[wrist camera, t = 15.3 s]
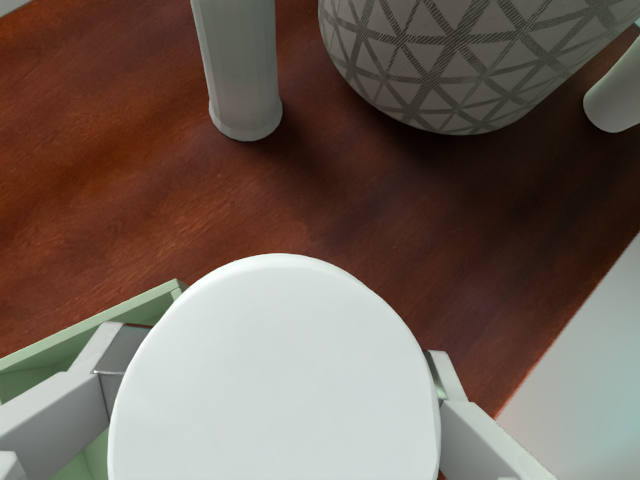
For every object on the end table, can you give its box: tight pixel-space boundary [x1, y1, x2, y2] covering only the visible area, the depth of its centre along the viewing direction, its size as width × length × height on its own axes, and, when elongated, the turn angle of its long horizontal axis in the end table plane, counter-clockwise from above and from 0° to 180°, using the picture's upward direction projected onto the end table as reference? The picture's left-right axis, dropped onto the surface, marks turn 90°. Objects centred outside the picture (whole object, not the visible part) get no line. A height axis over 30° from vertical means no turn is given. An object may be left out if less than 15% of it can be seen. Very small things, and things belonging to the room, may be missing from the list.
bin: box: [0, 279, 190, 480], centre depth 25 cm, size 13×12×7 cm
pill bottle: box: [107, 253, 442, 480], centre depth 10 cm, size 6×6×11 cm
